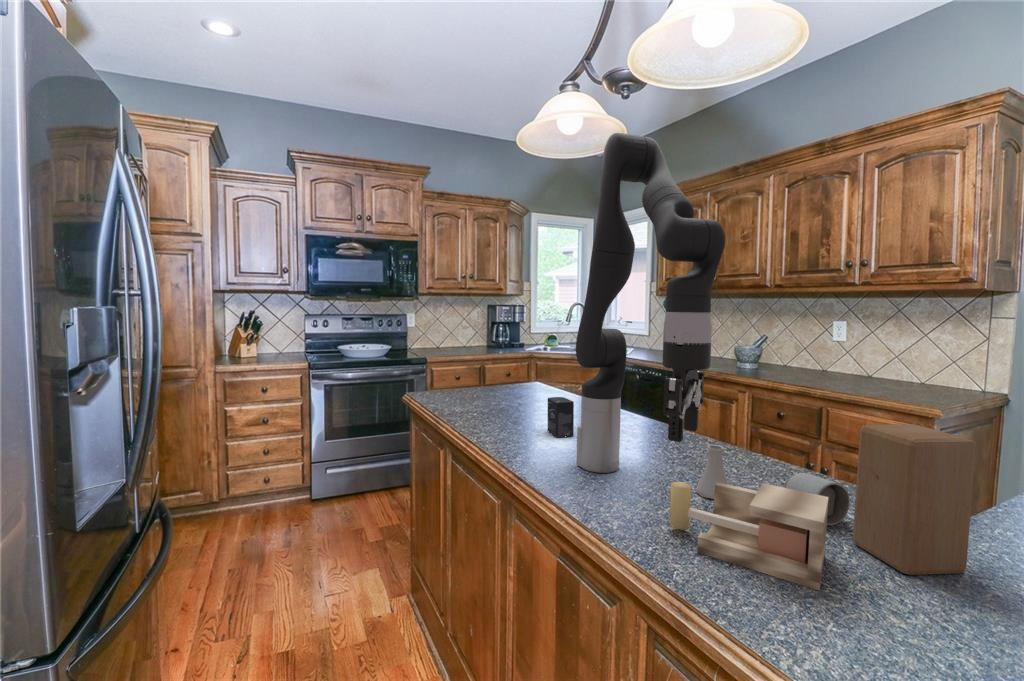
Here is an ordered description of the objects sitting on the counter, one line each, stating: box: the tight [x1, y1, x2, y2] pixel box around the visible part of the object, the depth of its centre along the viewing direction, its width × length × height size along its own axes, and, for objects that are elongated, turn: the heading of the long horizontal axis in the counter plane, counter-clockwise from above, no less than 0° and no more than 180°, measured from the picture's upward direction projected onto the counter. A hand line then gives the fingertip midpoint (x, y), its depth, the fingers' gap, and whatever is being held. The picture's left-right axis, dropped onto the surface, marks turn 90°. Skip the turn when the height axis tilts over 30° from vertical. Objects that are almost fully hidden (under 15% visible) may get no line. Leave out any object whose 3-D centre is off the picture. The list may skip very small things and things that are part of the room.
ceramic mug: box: [784, 472, 851, 526], centre depth 86 cm, size 11×8×8 cm
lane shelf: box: [696, 482, 828, 591], centre depth 72 cm, size 16×11×10 cm
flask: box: [694, 444, 730, 500], centre depth 96 cm, size 7×7×10 cm
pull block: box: [669, 481, 810, 564], centre depth 74 cm, size 20×6×7 cm, turn 53°
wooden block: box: [852, 423, 977, 576], centre depth 71 cm, size 10×10×20 cm
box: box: [547, 396, 575, 438], centre depth 141 cm, size 8×6×11 cm
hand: (683, 435), depth 79 cm, fingers open, 8 cm apart
